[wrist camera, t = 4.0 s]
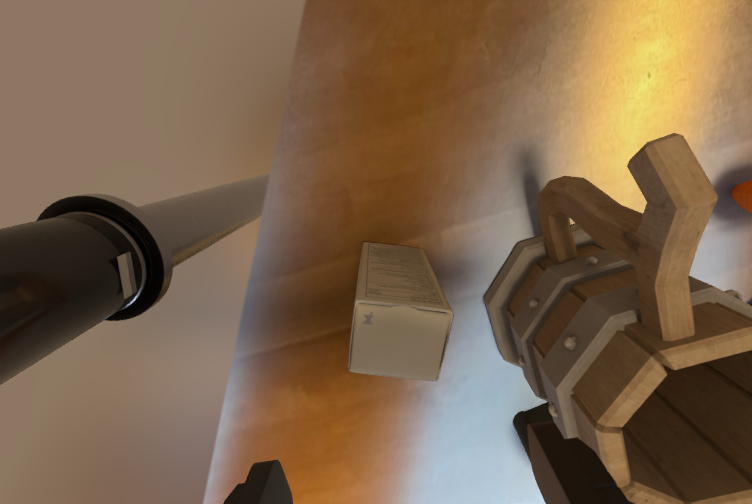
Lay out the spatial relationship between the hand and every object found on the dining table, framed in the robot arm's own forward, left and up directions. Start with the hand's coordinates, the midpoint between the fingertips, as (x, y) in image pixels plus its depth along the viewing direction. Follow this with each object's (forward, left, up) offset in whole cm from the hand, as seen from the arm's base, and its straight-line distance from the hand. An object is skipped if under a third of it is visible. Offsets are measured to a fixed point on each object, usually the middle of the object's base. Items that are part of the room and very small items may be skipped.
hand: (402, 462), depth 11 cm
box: (0, 0, -18) cm, 18 cm away
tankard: (+13, -2, -18) cm, 22 cm away
